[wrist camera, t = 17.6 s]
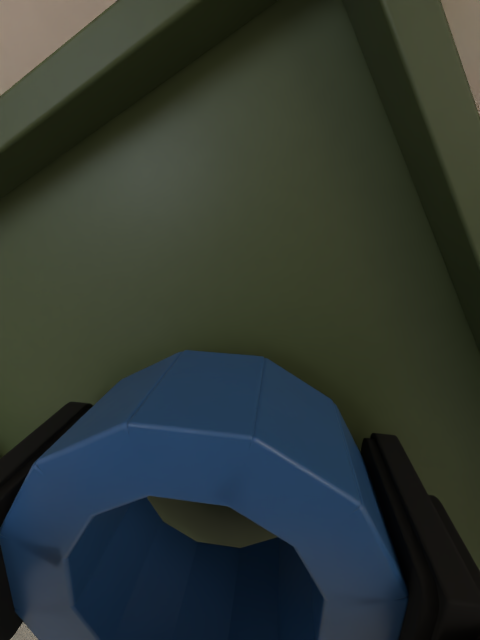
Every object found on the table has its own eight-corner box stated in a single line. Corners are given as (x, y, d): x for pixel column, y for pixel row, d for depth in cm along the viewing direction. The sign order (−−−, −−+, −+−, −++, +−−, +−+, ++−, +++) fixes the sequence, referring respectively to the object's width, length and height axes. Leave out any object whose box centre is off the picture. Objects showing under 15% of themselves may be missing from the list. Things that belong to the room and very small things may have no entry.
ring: (43, 415, 9) (-75, 508, 6) (284, 301, 7) (284, 353, 4) (176, 602, 10) (133, 753, 7) (406, 543, 8) (468, 708, 6)
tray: (-133, 273, 10) (-234, 284, 8) (344, -80, 7) (371, -213, 5) (179, 691, 14) (162, 770, 12) (603, 613, 10) (681, 707, 8)
